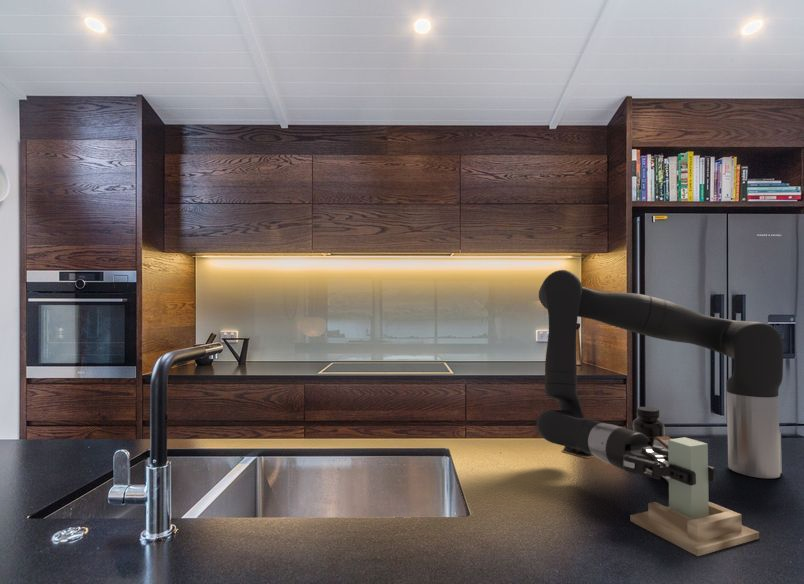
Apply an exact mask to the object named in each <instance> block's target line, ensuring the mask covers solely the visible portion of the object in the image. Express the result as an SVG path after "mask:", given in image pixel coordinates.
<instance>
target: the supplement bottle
mask: <svg viewBox="0 0 804 584" xmlns="http://www.w3.org/2000/svg"><path fill="white" fill-rule="evenodd" d="M636 416H637V417H636V418H635V419H634V420H633V421H632V430H633V431H636V432H639V433H642V434H644V435H646V436H647V437H648V439H649V440H650V442H651V443H652V445H653V439H654V438H655V437H666V435H665V434H666V431H665V424H664V423H663V421H661V420H660V418H661V415H660V409H658V408H656V407H650V406H638V407H637V408H636Z"/></svg>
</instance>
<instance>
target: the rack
mask: <svg viewBox="0 0 804 584" xmlns="http://www.w3.org/2000/svg"><path fill="white" fill-rule="evenodd" d="M647 508H648V509H647V510H648V511H643V512H638V513H634V514H630V515H629V516H630V518H629V519H630V520H629V521H630V522H632V523H633V524H635V525H637V526H638V527H640V528H642V529H645V530H646V531H649V532H650V533H652V534H654V535H656V536H658V537H660V538H662V539H664V540H666V541H668V542H669V543H672V544H673V545H675V546H677V547H679V548H681V549H683V550H685V551H687V552H688V553H690V554H692V555H695V556H696V557H701V556H704V555H707V554H710V553H714V552H718V551H721V550H724V549H728V548H731V547H735V546H738V545H742V544H744V543H749V542H752V541H756V540H759V539H760V532H759V531H758V530H755V529H752V528H750V527H748V526H745V525H743V524H742V523H743V521H742V519H743V518H742V513H739V512H736V511H733V510H731V509H729V508H726V507H724V506H722V505H719V504H717V503H713V502H710V501H709V516H706V517H702V518H698V519H693V518H690V517H688V516H686V515H684V514H681V513H679V512H677V511H675V510H672V509H670V508H669V506H665V505H663V504H661V503H659V502H657V501H653V502H648V503H647Z"/></svg>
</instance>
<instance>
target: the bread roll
mask: <svg viewBox="0 0 804 584" xmlns="http://www.w3.org/2000/svg"><path fill="white" fill-rule="evenodd" d="M561 453H563V454H567V455H571V456H574V457H579V458H583V459H586V460H589V459H592V458H596V457H595V456H592V455H590V454H587V453H585V452H583V451H581V450H578V449H575V448H571V447H566V446H564V447H563V449H562V450H561Z"/></svg>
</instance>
